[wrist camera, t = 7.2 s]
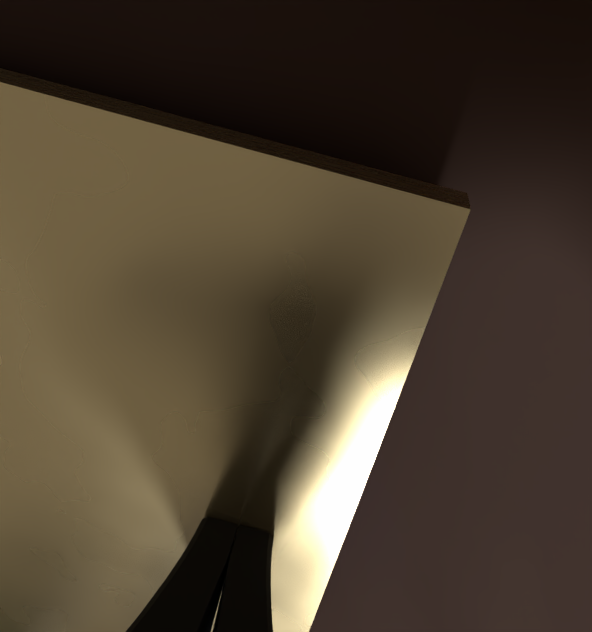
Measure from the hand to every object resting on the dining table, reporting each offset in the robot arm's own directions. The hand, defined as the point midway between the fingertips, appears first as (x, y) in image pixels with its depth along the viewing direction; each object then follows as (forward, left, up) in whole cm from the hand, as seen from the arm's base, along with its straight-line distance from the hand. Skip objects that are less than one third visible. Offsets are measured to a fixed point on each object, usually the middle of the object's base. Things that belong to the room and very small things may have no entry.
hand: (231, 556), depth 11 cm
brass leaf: (0, +4, -1) cm, 4 cm away
